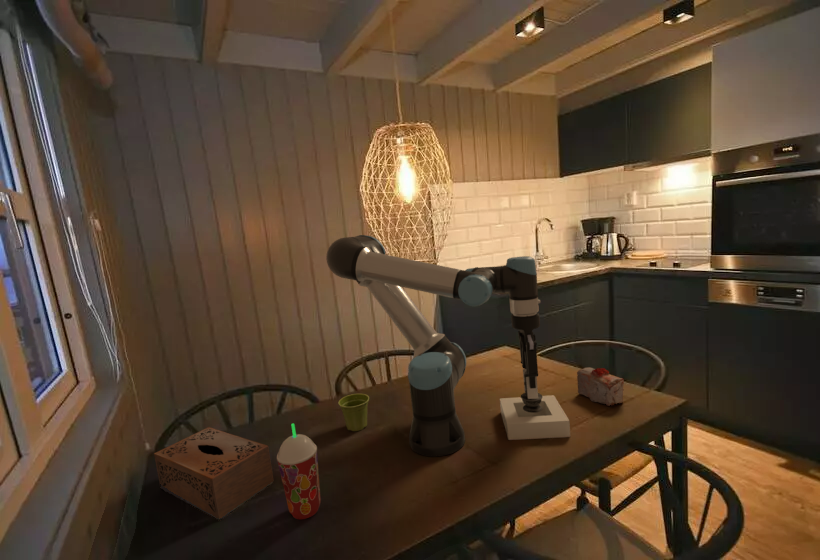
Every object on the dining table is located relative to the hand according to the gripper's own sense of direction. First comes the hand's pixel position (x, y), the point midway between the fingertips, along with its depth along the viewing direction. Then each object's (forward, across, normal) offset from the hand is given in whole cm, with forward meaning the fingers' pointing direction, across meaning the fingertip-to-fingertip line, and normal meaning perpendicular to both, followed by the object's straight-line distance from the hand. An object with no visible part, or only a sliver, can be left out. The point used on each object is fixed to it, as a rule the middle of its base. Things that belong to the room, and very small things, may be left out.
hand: (531, 394), depth 114 cm
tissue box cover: (+9, -23, +82) cm, 86 cm away
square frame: (+9, 0, 0) cm, 9 cm away
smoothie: (+9, -33, +55) cm, 65 cm away
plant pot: (+9, +4, +52) cm, 53 cm away
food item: (+9, +13, -23) cm, 28 cm away
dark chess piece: (+4, 0, 0) cm, 4 cm away
